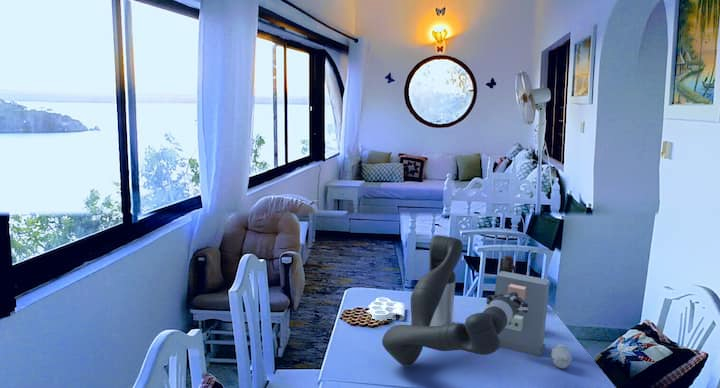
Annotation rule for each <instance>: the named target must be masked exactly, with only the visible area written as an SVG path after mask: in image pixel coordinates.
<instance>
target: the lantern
mask: <svg viewBox="0 0 720 388" xmlns="http://www.w3.org/2000/svg"><path fill="white" fill-rule="evenodd" d="M509 235H511V237H512V238H513V240H514V242H515V244H516V246H518V245H517V241H516V239H515V238H514V236H513V235H512V234H510V233H508V234H507V235H506V236H504V237H503V239H502V241H501V243H503V241H504V239H505V238H506V237H508V236H509ZM502 246H503V244H501V247H500V249H502ZM503 257H504V259H503V260H502V259H501V261H500V266H499V271H498V273H500V272H501V271H505V272H510V273H516V266H517V263H515V265H514V260H513V258H514V257H513V256H511V255H504V256H503ZM515 258H516V260H515V262H517V260H518V257H515Z"/></svg>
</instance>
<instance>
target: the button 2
mask: <svg viewBox="0 0 720 388" xmlns="http://www.w3.org/2000/svg"><path fill="white" fill-rule="evenodd" d="M523 318H524V316H519V315H515V316H514V318H513V319H512V320H511V322H510V323H509V324H508V325H507V326H506V327H505V328H508V329H512V330H516V331H521V330H522V328H523Z"/></svg>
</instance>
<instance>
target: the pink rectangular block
mask: <svg viewBox="0 0 720 388" xmlns="http://www.w3.org/2000/svg"><path fill="white" fill-rule="evenodd" d="M512 292H514V293H517V295H518V298H521V299H522V300H525V296H526V287H524V286H519V285H514V284H510V285H509V286H508V294H509V293H512Z"/></svg>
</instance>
